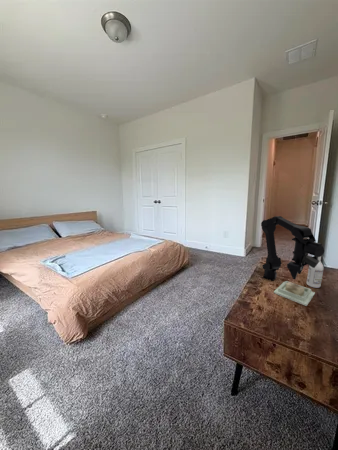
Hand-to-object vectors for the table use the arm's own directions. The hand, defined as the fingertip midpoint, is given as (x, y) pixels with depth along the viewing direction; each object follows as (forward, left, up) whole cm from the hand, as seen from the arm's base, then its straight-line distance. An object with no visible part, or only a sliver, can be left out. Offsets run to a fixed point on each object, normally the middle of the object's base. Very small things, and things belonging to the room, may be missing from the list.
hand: (296, 276), depth 106 cm
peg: (0, 0, -10) cm, 10 cm away
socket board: (0, 0, -11) cm, 11 cm away
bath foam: (+5, +19, -11) cm, 23 cm away
